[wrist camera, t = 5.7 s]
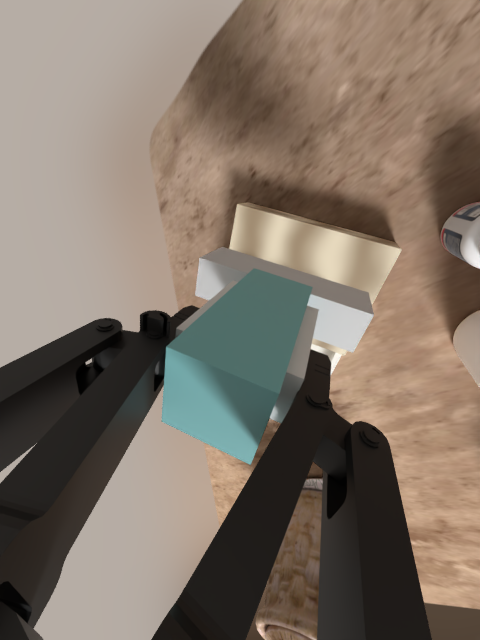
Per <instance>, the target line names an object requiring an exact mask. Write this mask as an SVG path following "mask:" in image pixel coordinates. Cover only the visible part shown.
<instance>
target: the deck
mask: <svg viewBox="0 0 480 640" xmlns="http://www.w3.org/2000/svg"><path fill="white" fill-rule="evenodd" d="M229 249H231V250H235V251H238V252H241V253H244V254H247V255H251V256H254V257H257V258H260V259H263V260H266V261H270V262H273V263H276V264H279V265H282V266H286V267H289V268H292V269H295V270H298V271H302V272H305V273H308V274H311V275H314V276H318V277H321V278H324V279H327V280H330V281H334V282H337V283H340V284H343V285H346V286H350V287H353V288H356V289H359V290H362V291H365V292H369V296H370V300H371V305H372V304H373V302H374V300H375V298H376V296H377V295H378V293H379V291H380V289H381V287H382V285H383V283H384V282H385V280H386V278H387V276H388V274H389V272H390V271H391V269H392V267H393V265H394V263H395V261H396V259H397V258H398V256H399V254H400V252H401V250H402V249H401V248H400V247H399V246H398V245H397V243H396V242H393V241H389V240H385V239H382V238H378V237H374V236H371V235H367V234H363V233H360V232H356V231H352V230H349V229H345V228H341V227H338V226H334V225H330V224H326V223H323V222H319V221H315V220H312V219H308V218H304V217H301V216H297V215H293V214H290V213H286V212H282V211H278V210H275V209H271V208H267V207H264V206H260V205H256V204H253V203H249V202H247V203H241V204H237V208H236V213H235V219H234V225H233V230H232V236H231V241H230V247H229ZM312 344H314V345H317V346H320V347H322V348H325V349H328V350H330V351H333V352H336V353H338V354H341V355H344V356H345V354H346V352H347V350H344V349H341V348H339V347H336V346H333V345H330V344H328V343H325V342H322V341H319V340H317V339H314V338H313V340H312Z"/></svg>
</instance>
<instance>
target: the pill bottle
mask: <svg viewBox="0 0 480 640" xmlns="http://www.w3.org/2000/svg"><path fill="white" fill-rule="evenodd" d="M441 243H442V245H443V247H444V248H445V249H446V250H447V251H448V252H449V253H451V254H453V255H455V256H456V257H458V258H460V259H461V260H463V261H465V262H467V263H468V264H470V265H472V266H474V267H476V268H479V269H480V202H476V203H472V204H468V205H466V206H464V207H462V208H460V209H458V210H457V211H456V212H454V213H453V214H452V215H451V216H450V217H449V218H448V219H447V221H446V222H445V224H444V226H443V228H442V231H441Z"/></svg>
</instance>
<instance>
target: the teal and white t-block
mask: <svg viewBox="0 0 480 640" xmlns="http://www.w3.org/2000/svg"><path fill="white" fill-rule="evenodd" d="M232 281H236V282H238V283H237V284H236V285H235V286H233V287H232V288H231V289H230V290H229V291H228V292H227V293H226V294H224V295H223V296H222V297H221V298H220V299H219V300H218V301H217V302H216V303H214V304H213V305H212V306H211V307H210V308H209V309H208V310H207V311H205V312H204V313H203V314H202V315H201V316H200V317H199V318H198V319H197V320H195V321H194V322H193V323H192V324H191V325H190V326H189V327H188V328H186V329H185V330H184V331H183V332H182V333H181V334H180V335H179V336H178V337H176V338H175V339H174V340H173V341H172V342H171V343H170V344H169V345H167V346H166V359H165V375H164V391H163V407H162V422H164V423H166V424H168V425H170V426H172V427H174V428H176V429H178V430H180V431H182V432H184V433H186V434H189V435H190V436H192V437H194V438H197V439H199V440H201V441H203V442H205V443H207V444H209V445H211V446H213V447H215V448H217V449H219V450H221V451H223V452H225V453H227V454H229V455H231V456H233V457H235V458H237V459H239V460H241V461H244V462H246V463H248V464H250V465H251V463H252V460H253V458H254V455H255V453H256V450H257V448H258V445H259V443H260V440H261V438H262V435H263V433H264V431H265V428H266V426H267V423H268V421H269V418H270V416H271V413H272V411H273V408H274V406H275V403H276V401H277V398H278V396H279V393H280V390H281V387H282V384H283V381H284V377H285V374H286V371H287V368H288V365H289V362H290V358H291V355H292V352H293V349H294V346H295V342H296V339H297V336H298V333H299V330H300V326H301V323H302V320H303V317H304V314H305V311H306V307H307V306H310V307H313V308H316V309H319V311H318V316H317V321H316V325H315V330H314V335H313V338H314V339H317V340H319V341H322V342H325V343H328V344H330V345H333V346H336V347H339V348H341V349H344V350H347V351H350V352H352V353H353V352H354V350H355V348H356V346H357V345H358V343H359V341H360V339H361V337H362V336H363V334H364V332H365V330H366V328H367V327H368V325H369V323H370V321H371V319H372V318H373V316H374V313H373V309H372V305H371V300H370V296H369V292H365V291H362V290H359V289H356V288H353V287H350V286H346V285H343V284H340V283H337V282H334V281H330V280H327V279H324V278H321V277H318V276H314V275H311V274H308V273H305V272H302V271H298V270H295V269H292V268H289V267H286V266H282V265H279V264H276V263H273V262H270V261H266V260H263V259H260V258H257V257H254V256H251V255H247V254H244V253H241V252H238V251H235V250H231V249H228V248H225V247H221V248H219V249H216V250H214V251H212V252H210V253H208V254H206V255H204V256H202V257H200V259H199V267H198V276H197V284H196V292H195V295H196V296H198V297H201V298H204V299H207V300H210V299H212V298H213V297H214V296H215V295H216V294H218V293H219V292H220V291H221V290H222V289H224V288H225V287H226V286H227V285H228V284H229V283H231V282H232Z"/></svg>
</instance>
